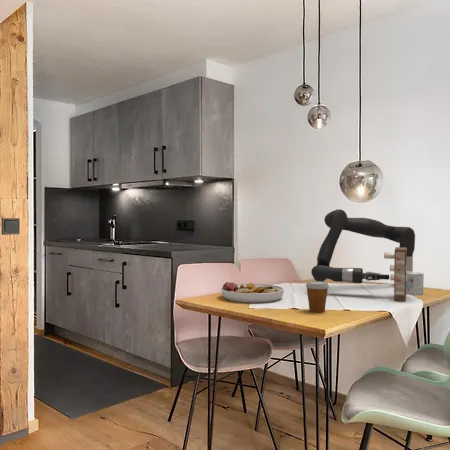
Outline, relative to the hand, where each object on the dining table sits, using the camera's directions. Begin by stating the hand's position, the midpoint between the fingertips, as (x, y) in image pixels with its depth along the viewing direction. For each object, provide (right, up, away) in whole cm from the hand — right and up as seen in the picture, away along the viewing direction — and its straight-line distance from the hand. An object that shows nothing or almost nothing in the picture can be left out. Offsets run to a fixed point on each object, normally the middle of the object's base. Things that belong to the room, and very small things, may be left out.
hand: (389, 277), depth 234 cm
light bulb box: (+16, -10, +14) cm, 23 cm away
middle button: (+2, +3, -6) cm, 7 cm away
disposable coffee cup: (-41, -11, -31) cm, 52 cm away
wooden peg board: (+5, -10, -2) cm, 11 cm away
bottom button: (+4, -2, -1) cm, 4 cm away
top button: (+3, +9, +4) cm, 10 cm away
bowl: (-66, -11, 0) cm, 67 cm away
